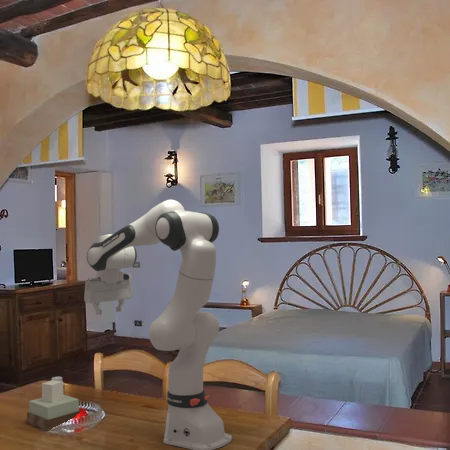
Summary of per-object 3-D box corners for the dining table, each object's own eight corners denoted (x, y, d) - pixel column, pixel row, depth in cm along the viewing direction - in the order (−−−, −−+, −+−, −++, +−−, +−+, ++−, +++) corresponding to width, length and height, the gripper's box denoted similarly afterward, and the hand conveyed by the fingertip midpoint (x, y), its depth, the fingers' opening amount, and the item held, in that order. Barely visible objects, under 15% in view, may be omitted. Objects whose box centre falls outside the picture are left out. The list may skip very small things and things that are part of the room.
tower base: (81, 422, 197) (80, 411, 197) (47, 432, 187) (47, 420, 187) (60, 415, 205) (60, 403, 206) (27, 424, 196) (27, 412, 196)
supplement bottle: (67, 404, 216) (66, 377, 216) (53, 407, 213) (52, 380, 213) (61, 401, 220) (60, 375, 221) (47, 404, 217) (46, 377, 217)
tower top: (78, 410, 197) (78, 399, 197) (47, 419, 188) (47, 407, 188) (59, 404, 205) (59, 393, 205) (29, 412, 196) (29, 400, 196)
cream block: (63, 398, 198) (63, 381, 198) (52, 402, 193) (51, 385, 193) (53, 397, 200) (52, 380, 200) (42, 400, 196) (41, 383, 196)
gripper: (90, 278, 205) (91, 317, 205) (134, 275, 221) (135, 310, 220) (80, 278, 209) (80, 315, 209) (124, 274, 225) (124, 309, 224)
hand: (109, 313), depth 215 cm, fingers open, 8 cm apart
